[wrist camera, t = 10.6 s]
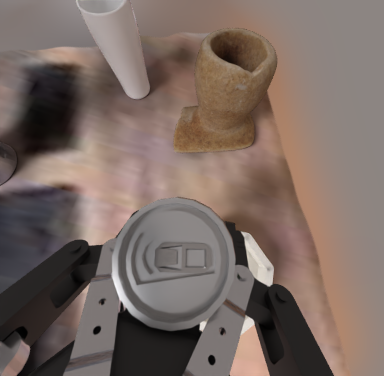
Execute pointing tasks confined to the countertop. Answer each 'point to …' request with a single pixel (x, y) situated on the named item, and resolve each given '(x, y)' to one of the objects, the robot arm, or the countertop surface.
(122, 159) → the countertop surface
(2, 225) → the countertop surface
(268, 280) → the cream bowl
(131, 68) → the drinking glass
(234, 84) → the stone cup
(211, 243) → the beer can
